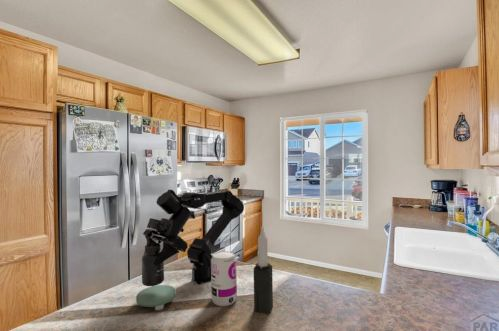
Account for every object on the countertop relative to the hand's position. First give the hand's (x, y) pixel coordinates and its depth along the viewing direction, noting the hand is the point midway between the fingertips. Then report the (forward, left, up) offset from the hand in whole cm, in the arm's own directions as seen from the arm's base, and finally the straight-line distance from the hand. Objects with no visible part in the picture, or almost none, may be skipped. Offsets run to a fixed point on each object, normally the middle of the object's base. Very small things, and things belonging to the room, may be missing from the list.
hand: (149, 262), depth 85 cm
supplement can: (-21, +11, -13) cm, 27 cm away
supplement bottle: (-1, -1, -7) cm, 7 cm away
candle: (-29, +22, -13) cm, 39 cm away
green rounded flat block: (-2, 0, -13) cm, 13 cm away
